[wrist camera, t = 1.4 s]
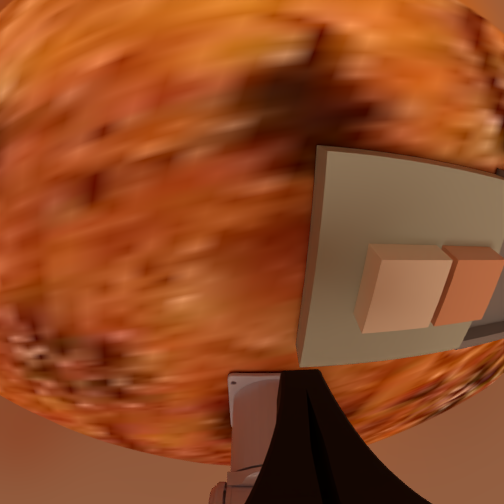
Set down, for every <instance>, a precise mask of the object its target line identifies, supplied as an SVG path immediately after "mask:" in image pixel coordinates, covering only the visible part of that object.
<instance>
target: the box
mask: <svg viewBox="0 0 504 504" xmlns="http://www.w3.org/2000/svg"><path fill="white" fill-rule="evenodd" d="M496 175H499V176H501V177H503V178H504V170H501V169H498V168H497V172H496ZM499 255H500V256H502V257H503V258H504V240H503V243H502V246H501V249H500V253H499ZM503 338H504V266H503V269H502V272H501V275H500V277H499V280H498V282H497V285H496V287H495V290H494V292H493V295H492V297H491V299H490V302H489V304H488V306H487V309H486V311H485V313H484V315H483V317H482V319H480V320H474V321H472V323H471V325H470V327H469V329H468V331H467V333H466V335H465V337H464V339H463V341H462V343H461V345H460V347H459V348H457V349H462V348H467V347H471V346H475V345H480V344H484V343H488V342H492V341H495V340H499V339H503ZM457 349H455V350H457Z"/></svg>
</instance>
